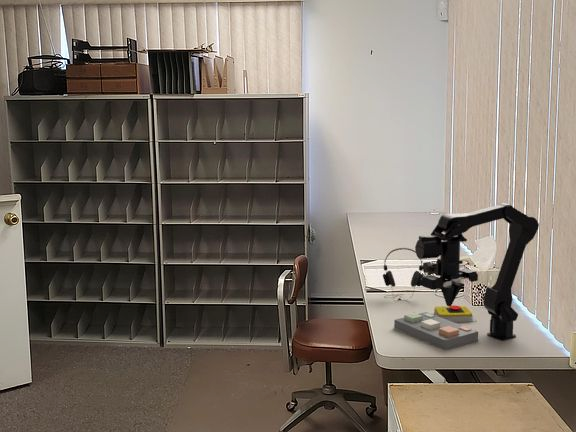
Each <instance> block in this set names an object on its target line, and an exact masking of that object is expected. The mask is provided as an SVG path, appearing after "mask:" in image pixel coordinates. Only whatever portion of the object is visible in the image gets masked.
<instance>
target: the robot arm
mask: <svg viewBox="0 0 576 432" xmlns="http://www.w3.org/2000/svg"><path fill="white" fill-rule="evenodd" d="M502 219H503V220H504V221H505V222H506V223H508V224H509V228H508V233H509V243H508V246H507V248H506V252H505V255H504V258H503V261H502V264H501V266H500V269H499V273H498V275H497V278H496V281H495V284H493V286H492V287H489V286H487V287H486V288H485V293H484V295H483V297H482V299H483V302H482V303H483V306H484V308H485V309H486V310H487V313H488V315H491V316H490V320H489V332H487V333H486V335H487V336H489V337H491V338H495V339H498V340H499V341H506V340H509V339H513V338H516V337H517V335H516V334H514V322H516V321H517V319H518V316H519V313H518V312H517V311H515V310H514V308H513V307H512V304H513V293H512V292H513V291H512V287H513V285H514V282H515V278H516V276H517V273H518V270H519V267H520V264H521V261H522V259H523V257H524V256H523V255H524V253H525V249H526V247H527V245H528V244H529V243H530V242H532V240H533V239H534V238H535V235H536V234H537V233H538V230H539V226H540V223H539V222H538V220H537V218H535V217H534V216H530V215H526V214H525V213H523V212H522V211H520V210H518V209H517V208H515V207H514V206H513V205H511V204H508V203H505V202H504V203H503V202H501V203H500V202H499V204H496V205H493V206H489V207H485V208H481V209H477V210H474V211H470V212H466V213H465V212H464V213H459V212H458V213H445V214H442V215H441V216H440V218H439V219H438V222H437V225H436V226H435V227H434V229H433V230H432V232H431V233H430V235H426V236H425V235H419V236H418V240H417V241H416V244H415V245H414V246H415V247H414V249H415V250H414V251H416V253H415V255H416V257H417V258H418V259H419V260H420V259H421V260H425V259H436V258H437V259H436V263H433V264H432V262H431V261H425V262H422V266H423V273H424V274H427V275H424V277H422V278H421V286H420V287H424V288H427V289H429V290H431V291H432V290H433V291H435V290H440V291H441V293H442V296H443V299H444V301H445V302H444V303H445V305H446V307H449V306H453V304H454V301H455V300H456V299H457V296H458V294H459V293H460V292H461V290H462V288H463V287H465V283H462V280H465V279H468V280H469V282H471V283H473V282H478V281H479V274H478V273H477V270H472V269H469V268H467V267H466V268H462V269H461V267H460V265H462V264H463V262H464V261H463V259H461V258H460V257H461V243H463V242H467V241H468V239H467V238H466V237H465V236H464V235H463V234H464V233H466V232H467V231H469V230H470V229H471V228H473V227H476V226H479V225H483V224H487V223H491V222H495V221H499V220H502ZM439 257H440V258H439Z"/></svg>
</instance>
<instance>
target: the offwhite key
mask: <svg viewBox="0 0 576 432" xmlns="http://www.w3.org/2000/svg"><path fill="white" fill-rule="evenodd" d="M421 327H424V328H426V329H429V330H433V329H436V328H440V322H437V321H435V320H432V319H429V320H425V321H421Z"/></svg>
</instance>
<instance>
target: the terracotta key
mask: <svg viewBox="0 0 576 432" xmlns="http://www.w3.org/2000/svg"><path fill="white" fill-rule="evenodd" d="M439 334H441V335H444V336H446V337H453V336H456V335H459V330H458V329H456V328H453V327H451V326H447V327H443V328H439Z"/></svg>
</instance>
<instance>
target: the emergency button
mask: <svg viewBox="0 0 576 432" xmlns="http://www.w3.org/2000/svg"><path fill="white" fill-rule="evenodd" d="M433 311H434V312H433V313H432V314H433V315H436V316H438V317H441V318H444V319H446V320H449V321H452V322H454V323H476V322H477V319H476V318H475V317H474V315H473V312H472V311H471V310H470V309H469V308H468V307H467V306H465V305H462V306H461V305H454V304H452V305H451V306H434V310H433Z"/></svg>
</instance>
